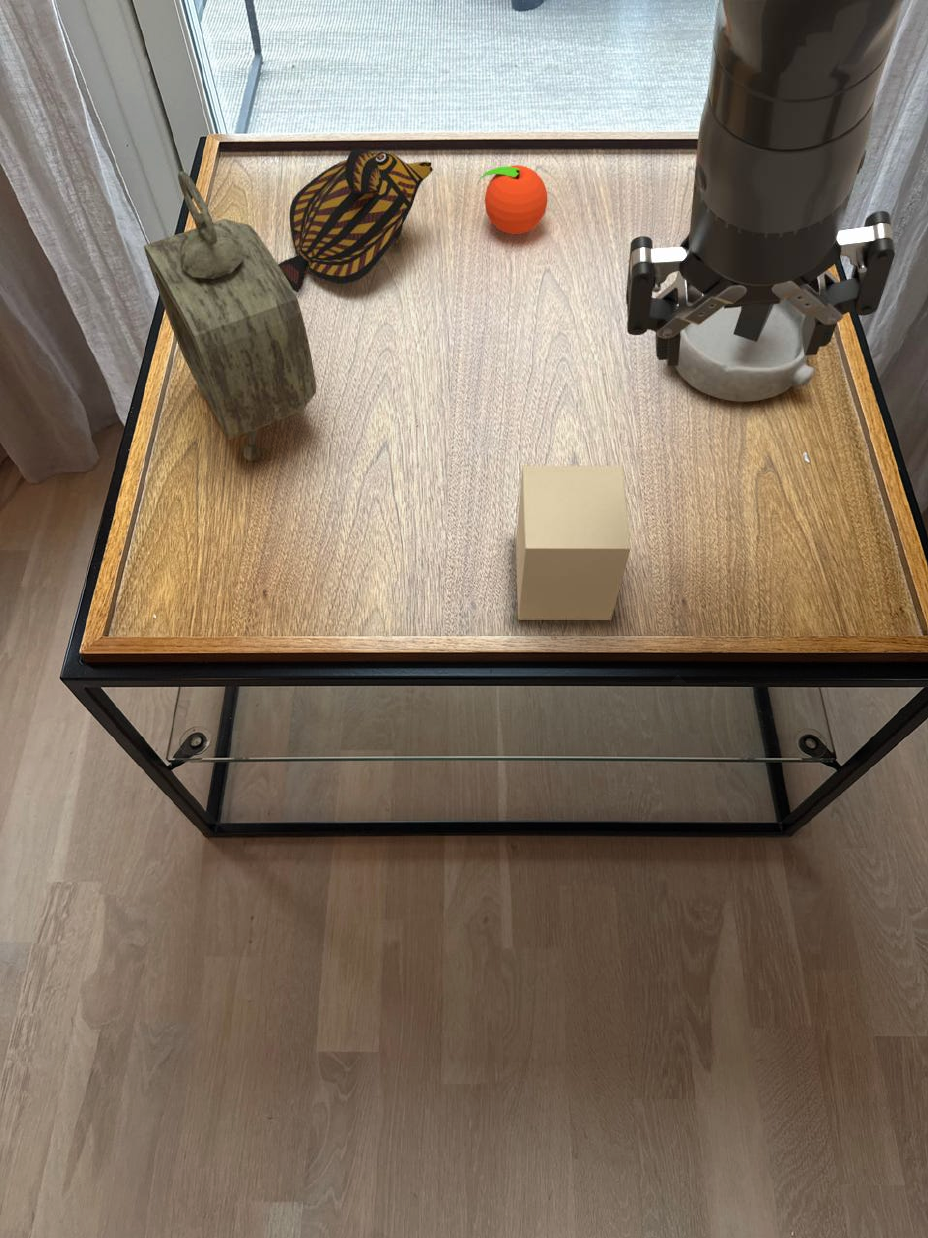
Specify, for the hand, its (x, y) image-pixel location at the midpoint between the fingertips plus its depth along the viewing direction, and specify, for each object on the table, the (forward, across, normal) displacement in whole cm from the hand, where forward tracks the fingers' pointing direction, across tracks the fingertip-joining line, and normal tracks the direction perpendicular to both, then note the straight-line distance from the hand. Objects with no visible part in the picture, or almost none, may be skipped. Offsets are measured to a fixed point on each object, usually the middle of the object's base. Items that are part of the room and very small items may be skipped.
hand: (738, 348), depth 59 cm
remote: (+27, -6, -20) cm, 34 cm away
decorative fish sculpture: (+29, +36, -34) cm, 58 cm away
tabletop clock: (+22, +43, -11) cm, 50 cm away
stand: (+23, +13, +8) cm, 27 cm away
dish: (+32, -5, -18) cm, 38 cm away
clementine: (+33, +19, -38) cm, 54 cm away
